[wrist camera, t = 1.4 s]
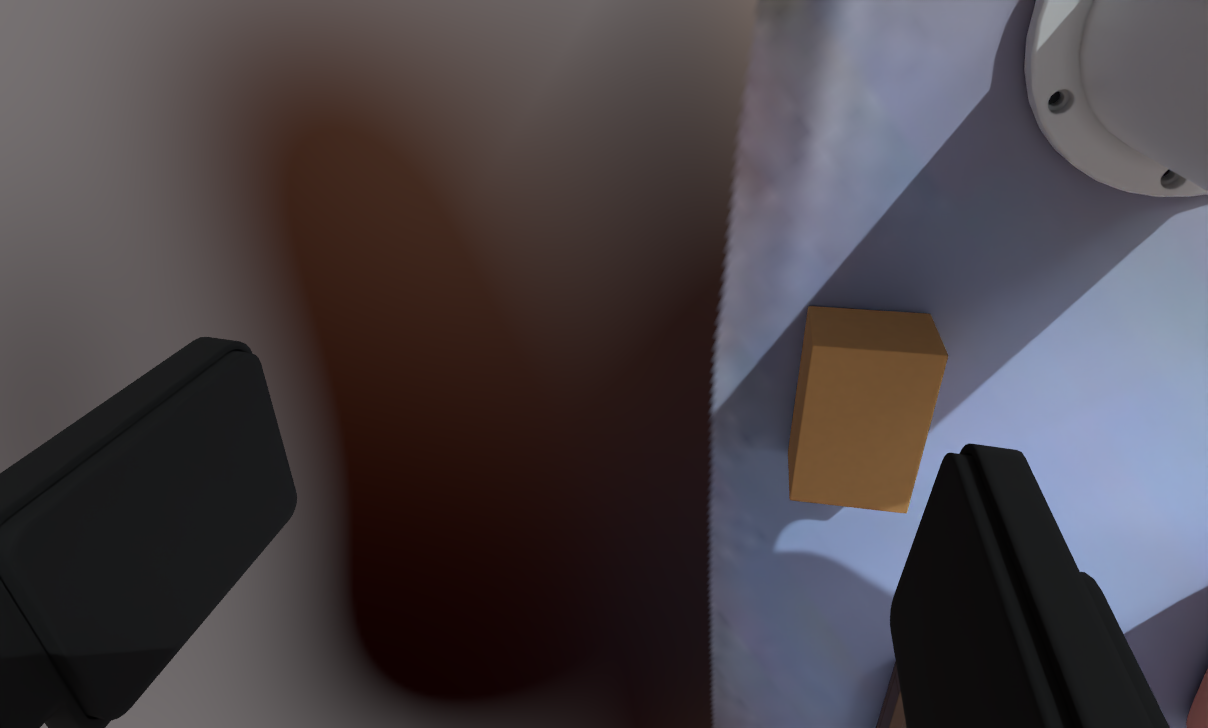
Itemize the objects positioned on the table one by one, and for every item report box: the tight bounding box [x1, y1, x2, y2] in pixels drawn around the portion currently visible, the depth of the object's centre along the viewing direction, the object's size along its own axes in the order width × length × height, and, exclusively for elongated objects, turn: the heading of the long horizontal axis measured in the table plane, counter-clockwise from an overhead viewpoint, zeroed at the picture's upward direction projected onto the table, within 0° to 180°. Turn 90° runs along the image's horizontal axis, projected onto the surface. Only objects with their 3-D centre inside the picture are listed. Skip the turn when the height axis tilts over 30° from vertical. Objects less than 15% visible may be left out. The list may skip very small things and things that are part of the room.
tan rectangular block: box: [788, 306, 948, 513], centre depth 34 cm, size 9×6×4 cm, turn 1°
